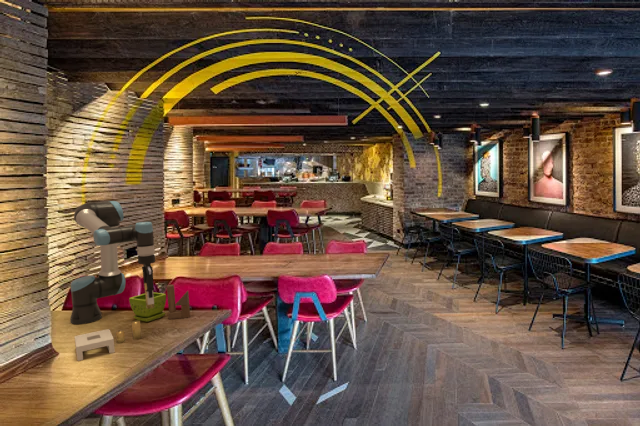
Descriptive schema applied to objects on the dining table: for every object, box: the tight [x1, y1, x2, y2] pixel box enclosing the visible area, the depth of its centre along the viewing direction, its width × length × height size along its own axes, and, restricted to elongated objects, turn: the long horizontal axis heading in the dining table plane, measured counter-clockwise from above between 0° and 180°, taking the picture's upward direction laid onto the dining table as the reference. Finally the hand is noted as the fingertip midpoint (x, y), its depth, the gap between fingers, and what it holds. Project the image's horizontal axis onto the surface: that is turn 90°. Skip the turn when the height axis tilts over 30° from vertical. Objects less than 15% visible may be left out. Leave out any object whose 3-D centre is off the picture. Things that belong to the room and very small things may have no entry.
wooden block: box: [166, 284, 191, 320], centre depth 226 cm, size 4×11×18 cm, turn 95°
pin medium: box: [131, 319, 142, 340], centre depth 198 cm, size 4×4×8 cm
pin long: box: [143, 282, 154, 308], centre depth 201 cm, size 4×4×12 cm
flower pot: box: [128, 291, 167, 323], centre depth 227 cm, size 14×14×13 cm
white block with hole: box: [74, 328, 116, 362], centre depth 185 cm, size 16×14×6 cm
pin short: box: [115, 329, 126, 344], centre depth 194 cm, size 4×4×5 cm
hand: (150, 302), depth 201 cm, fingers closed on pin long, 3 cm apart
